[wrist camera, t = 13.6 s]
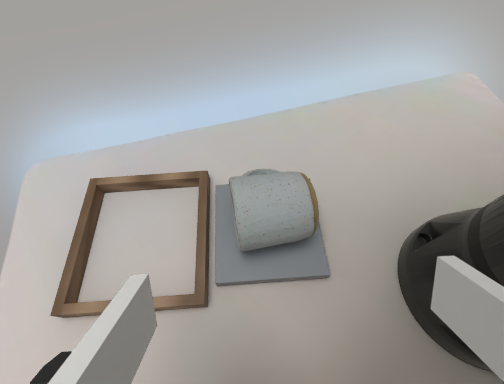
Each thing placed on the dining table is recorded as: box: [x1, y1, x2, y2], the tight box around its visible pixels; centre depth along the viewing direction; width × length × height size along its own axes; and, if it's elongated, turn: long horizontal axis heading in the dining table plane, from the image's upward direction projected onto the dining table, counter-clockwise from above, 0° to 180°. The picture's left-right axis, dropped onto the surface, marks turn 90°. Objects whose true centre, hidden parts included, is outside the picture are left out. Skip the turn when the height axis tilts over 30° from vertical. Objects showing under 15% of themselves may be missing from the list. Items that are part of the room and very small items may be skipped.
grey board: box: [215, 179, 330, 286], centre depth 31 cm, size 12×12×2 cm
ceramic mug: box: [229, 169, 319, 252], centre depth 28 cm, size 11×8×8 cm
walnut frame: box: [50, 171, 210, 318], centre depth 31 cm, size 15×16×2 cm
